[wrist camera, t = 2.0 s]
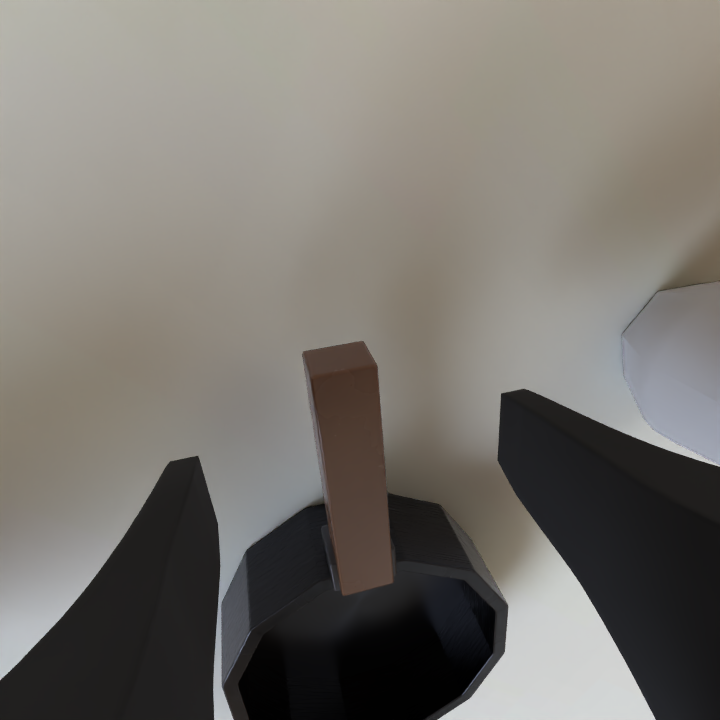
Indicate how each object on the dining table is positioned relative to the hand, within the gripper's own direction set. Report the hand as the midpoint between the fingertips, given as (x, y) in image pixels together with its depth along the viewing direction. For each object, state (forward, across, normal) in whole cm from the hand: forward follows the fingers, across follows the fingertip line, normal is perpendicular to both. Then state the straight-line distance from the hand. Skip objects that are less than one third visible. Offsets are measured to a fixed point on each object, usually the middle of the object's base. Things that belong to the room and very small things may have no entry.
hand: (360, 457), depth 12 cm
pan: (+5, 0, +7) cm, 8 cm away
